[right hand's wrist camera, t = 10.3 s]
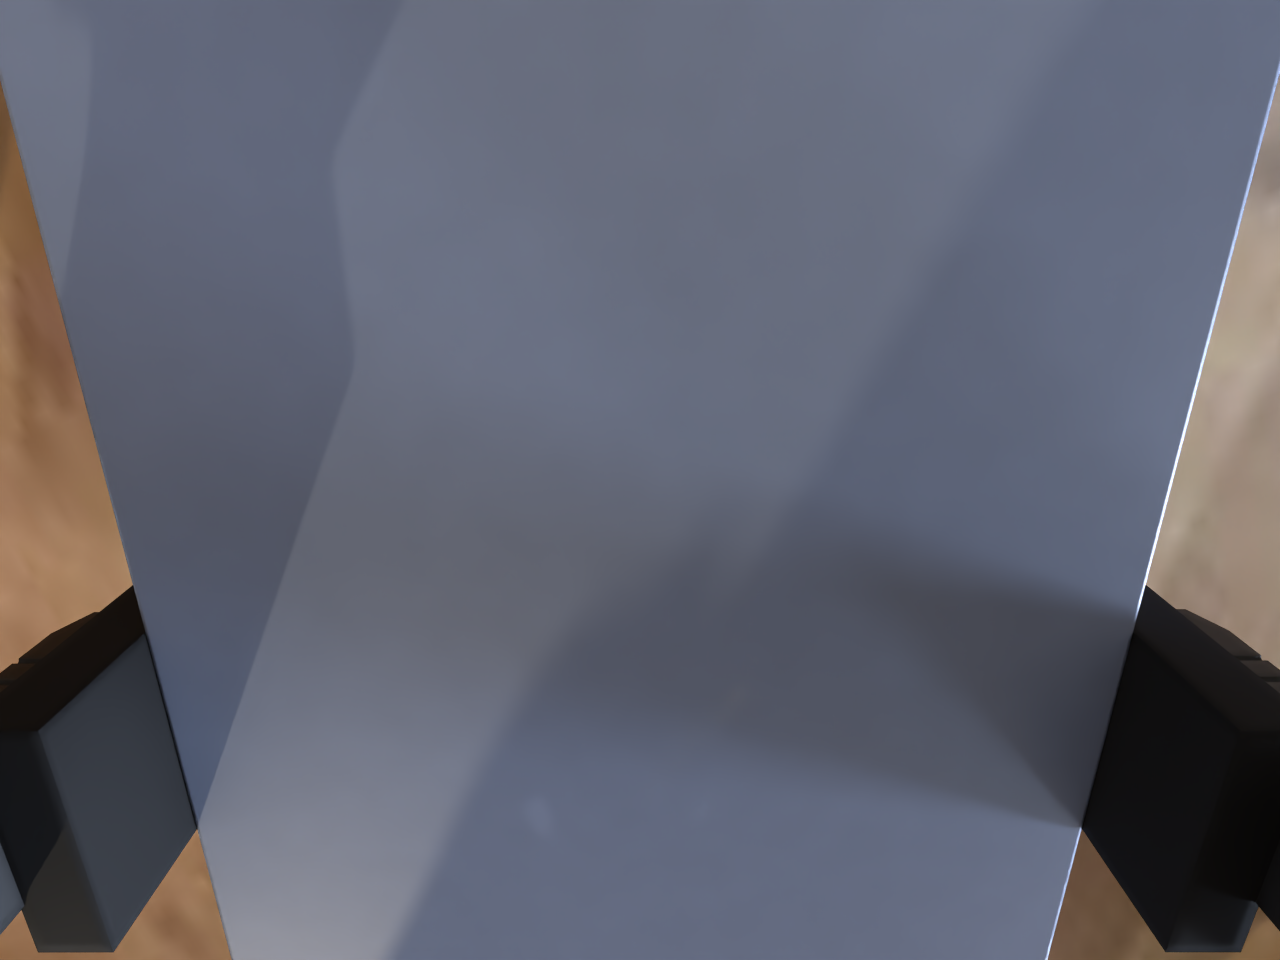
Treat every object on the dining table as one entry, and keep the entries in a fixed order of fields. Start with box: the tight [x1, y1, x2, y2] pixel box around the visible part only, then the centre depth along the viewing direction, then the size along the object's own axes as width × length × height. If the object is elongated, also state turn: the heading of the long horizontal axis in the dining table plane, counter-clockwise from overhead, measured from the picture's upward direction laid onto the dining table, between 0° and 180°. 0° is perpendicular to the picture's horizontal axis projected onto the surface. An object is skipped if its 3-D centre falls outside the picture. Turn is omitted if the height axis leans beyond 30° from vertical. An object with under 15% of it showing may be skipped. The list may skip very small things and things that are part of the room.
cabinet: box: [0, 0, 1280, 960], centre depth 12 cm, size 18×10×11 cm, turn 0°
